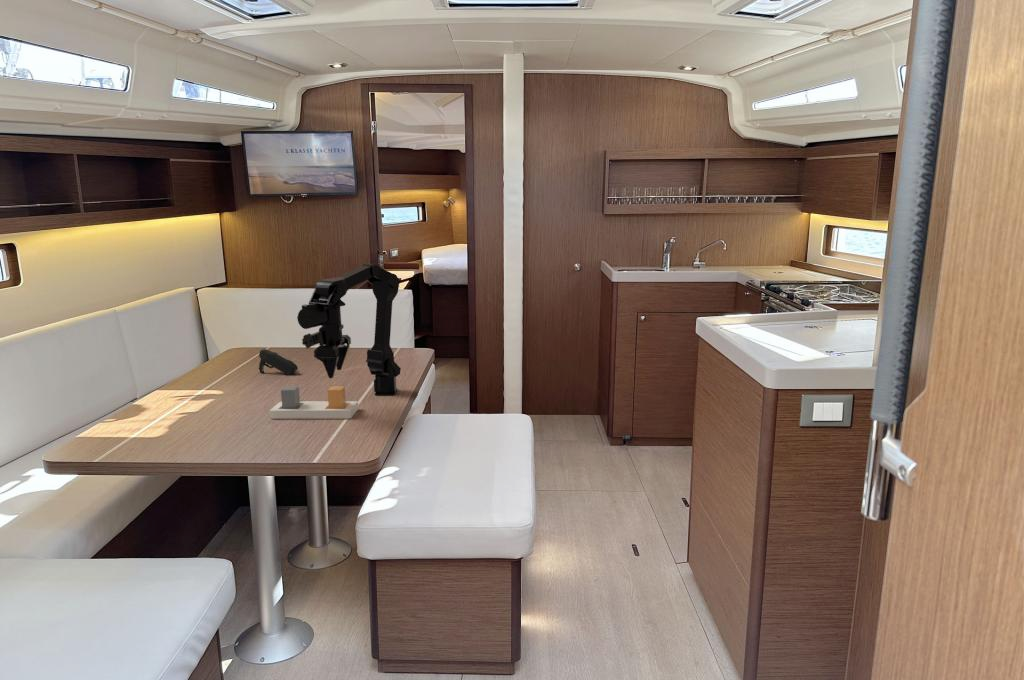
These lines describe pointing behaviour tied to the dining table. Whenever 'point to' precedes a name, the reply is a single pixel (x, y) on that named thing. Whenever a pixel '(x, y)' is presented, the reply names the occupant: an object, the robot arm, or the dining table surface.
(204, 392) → the dining table surface
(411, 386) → the dining table surface
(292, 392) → the gray plug
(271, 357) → the gun
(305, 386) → the dining table surface
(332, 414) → the white slotted frame
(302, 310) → the robot arm
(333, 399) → the orange plug
